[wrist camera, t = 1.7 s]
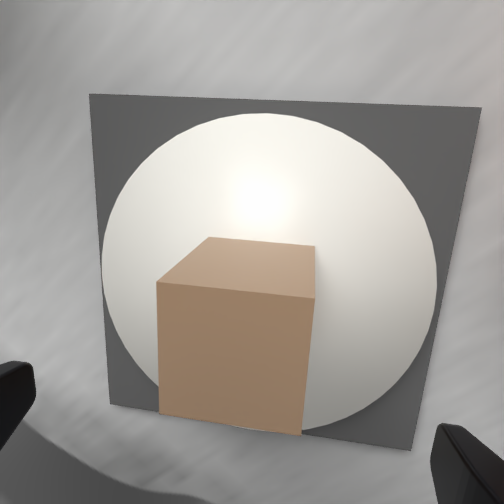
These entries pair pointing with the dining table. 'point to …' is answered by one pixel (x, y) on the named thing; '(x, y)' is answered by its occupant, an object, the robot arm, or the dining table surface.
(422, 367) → the mat
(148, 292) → the lid
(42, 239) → the dining table surface
